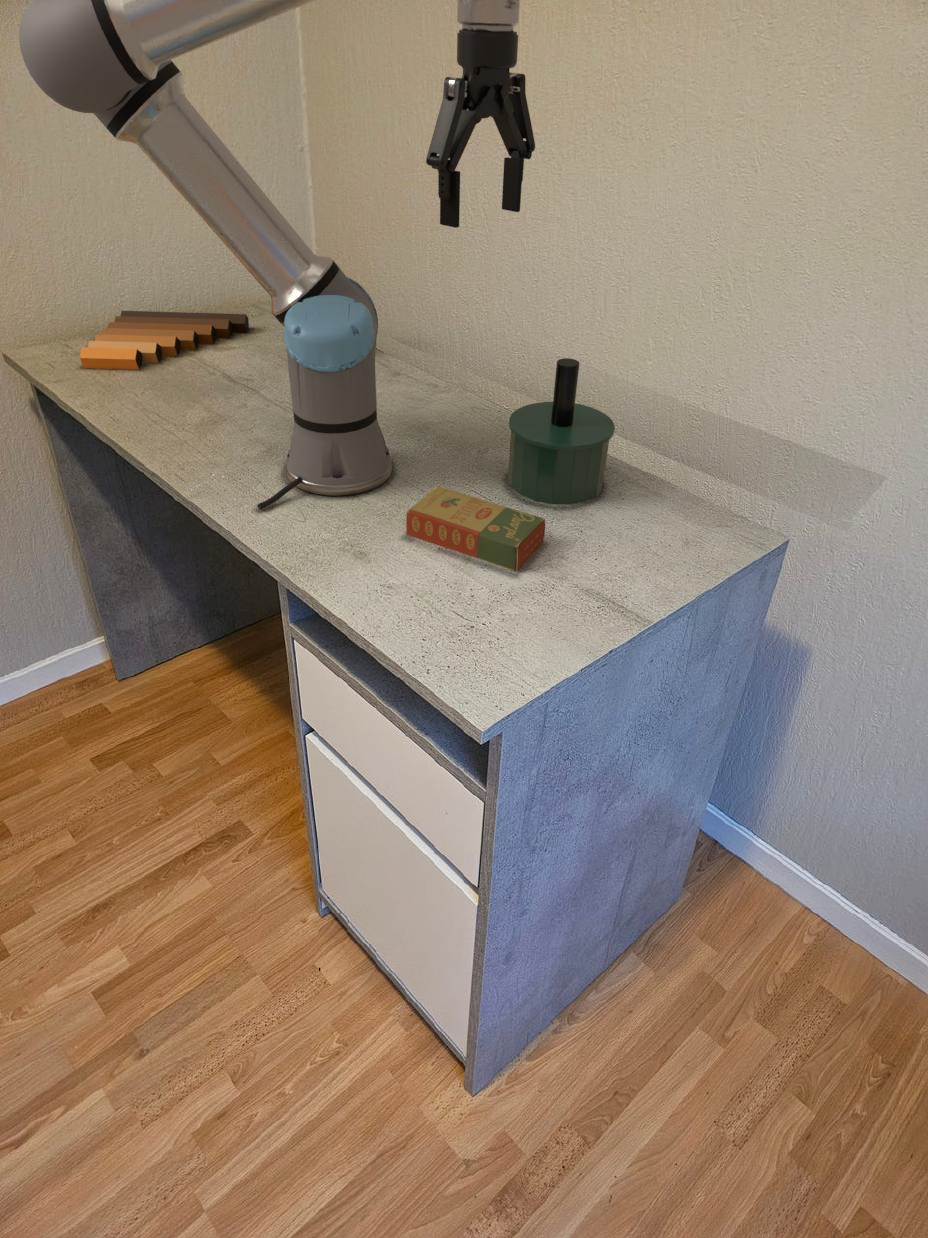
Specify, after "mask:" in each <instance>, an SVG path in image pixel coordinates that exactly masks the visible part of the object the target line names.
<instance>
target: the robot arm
mask: <svg viewBox="0 0 928 1238" xmlns="http://www.w3.org/2000/svg"><path fill="white" fill-rule="evenodd" d="M315 1H316V0H30V2H29V3H28V4H27V6H26V7H25V9H24V11H23V13H22V14H21V17H20V18H21V19H20V22H19V27H18V28H19V29H18V41H19V50H20V53H21V56H22V59H23V63H24V65H25V67H26V69H27V71H28V73H29V76H30V77H31V78H32V79H33V81H34V83H35V84H36V85H37V86H38V87H39V89H40V90H41V91H42V92H43V93H44V94H45V95H46V96H47V97H49V98H50V99H51V100H53V101H54V102H55V103H56V104H58V105H59V106H62V107H64V108H66V109H69V110H71V111H72V112H78V113H83V114H93V115H94V116H95V117H96V118H97V119H98V120H99V121H100V123H101V124H102V125H103V126H104V127H105V128H106V130H107V131H108V132H109V133H110V134H111V135H112V136H113V137H114V139H116V141H118V142H119V141H120V142H126V143H132V144H135V145H136V146H138V148H139V149H140V150H141V151H142V152H143V153H144V154H145V155H146V156H147V158H148V159H149V160H150V161H151V162H152V164H153V165H154V166H155V167H156V168H157V169H158V170H159V171H160V172H161V174H162V175H163V176H164V177H165V178H166V180H168V181H169V183H170V184H171V185H172V186H173V187H174V188H175V189H176V190H177V192H179V194H180V195H181V197H182V198H184V200H185V201H186V202H187V203H188V204H189V205H190V207H192V209H193V210H194V211H195V212H196V213H197V215H199V216H200V218H201V219H202V220H203V221H204V222H205V224H206V225H207V226H208V227H209V228H210V229H211V230H212V232H213V233H214V234H215V235H216V236H217V237H218V238H219V239H220V240H221V242H222V243H223V244H224V245H225V246H226V248H227V249H228V250H229V251H230V252H231V253H232V254H233V255H234V256H235V258H236V259H237V260H238V261H239V262H240V263H241V265H243V266H244V267H245V269H246V270H247V271H248V272H249V274H250V275H252V277H253V278H254V279H255V281H256V282H257V283H258V284H259V285H260V286H261V287H262V288H263V290H265V291H266V293H267V294H268V295H269V296H270V299H271V314H272V315H273V317H275V319H276V320H277V322H278V323H280V324H281V325H282V326H283V328H284V329H283V344H284V345H285V349H286V357H287V366H288V376H289V377H288V379H289V385H290V396H291V405H292V413H293V414H292V415H293V428H292V433H291V438H290V439H291V440H290V445H289V450H288V452H287V455H286V457H285V458H286V459H285V468H286V476H287V478H288V480H289V483H288V484H287V485H285V486H284V487H283V488H282V489H279V491H277V492H276V493H275V494H274V495H272V496H271V497H269V498H268V499H266V500H265V501H262V502H259V503H257V505H256V506H257V509H258V510H263V509H265V508H268V507H269V506H271V505H273V504H274V503H276V502H277V501H278V500H280V499H281V498H282V497H283V496H285V495H286V494H287V493H289V492H290V491H292V490H293V489H295V488H296V487H297V488H298V489H301V490H302V491H305V492H307V493H312V494H316V495H323V496H351V495H356V494H357V495H358V494H361V493H364V492H368V491H371V490H373V489H375V488H377V487H379V486H381V485H383V484H384V483H386V481H387V480H388V479H389V478H390V476H391V474H392V469H393V468H392V456H391V453H390V450H389V448H388V446H387V444H386V440H385V437H384V434H383V432H382V429H381V427H380V424H379V421H378V409H377V408H378V407H377V406H378V404H377V402H378V401H377V383H376V382H377V381H376V350H377V349H376V348H377V338H378V333H379V317H378V311H377V309H376V306H375V303H374V301H373V299H372V297H371V296H370V294H369V293H368V291H367V289H365V288H364V287H363V286H362V285H361V284H360V283H359V282H357V281H356V280H354V279H352V278H350V277H348V276H347V275H346V274H345V272H343V271H342V269H341V268H340V267H339V265H338V264H337V263H336V262H335V261H334V259H333V258H332V257H330V256H322V255H321V256H320V255H317V254H315V253H314V252H313V250H312V249H311V248H310V247H309V245H308V244H307V243H306V242H305V241H304V239H303V238H302V237H301V235H299V233H298V232H297V231H296V230H295V229H294V227H293V226H292V224H290V222H289V221H288V220H287V219H286V218H285V216H284V215H283V214H282V213H281V212H280V210H279V209H278V208H277V207H276V205H275V204H274V203H273V202H272V200H271V199H270V198H269V197H268V196H267V194H266V193H265V192H264V191H263V189H262V188H261V187H260V186H259V184H258V183H257V182H256V181H255V179H254V178H253V177H252V176H251V175H250V173H249V172H248V171H247V170H246V169H245V167H244V166H243V165H242V164H241V163H240V162H239V160H238V159H237V158H236V156H235V155H233V153H232V152H231V151H230V149H229V148H228V147H227V146H226V145H225V143H224V142H223V141H222V139H221V138H220V137H219V136H218V135H217V134H216V133H215V131H214V130H213V129H212V127H211V126H210V125H209V124H208V123H207V121H206V120H205V119H204V117H202V115H201V114H200V113H199V112H198V110H197V109H196V108H195V106H194V105H193V104H192V103H191V102H190V100H189V99H188V97H186V93H185V87H184V74H183V73H182V71H181V70H180V69H179V68H178V66H177V65H176V64H175V63H174V61H173V60H174V59H176V58H178V57H181V56H184V55H186V54H188V53H191V52H193V51H196V50H199V49H200V48H203V47H206V46H207V45H211V44H214V43H215V42H217V41H220V40H222V39H224V38H228V37H230V36H233V35H235V34H237V33H240V32H243V31H244V30H246V29H249V28H251V27H254V26H256V25H259V24H261V23H263V22H266V21H268V20H271V19H273V18H276V17H277V16H281V15H283V14H285V13H288V12H291V11H292V10H296V9H297V8H301V7H302V6H305V5H307V4H309V3H312V2H315ZM520 3H521V0H457V7H456V8H457V12H456V22H457V23H458V24H459V25H461V29H459V30H458V32H457V34H456V35H457V36H456V62H457V64H458V66H460V67H461V68H462V76H461V77H452V76H446V77H445V78H444V81H443V90H442V91H443V92H442V101H441V104H440V108H439V111H438V114H437V118H436V122H435V126H434V129H433V133H432V137H431V141H430V144H429V147H428V151H427V155H426V158H425V161H426V162H425V163H426V165H428V166H430V167H431V168H432V169H433V170H437V174H438V177H437V178H438V180H437V182H438V185H437V187H438V192H437V194H438V198H439V225H442V226H445V227H449V228H450V227H451V228H454V229H456V228H460V208H461V207H460V204H461V203H460V202H461V171H460V170H459V171H458V170H457V167H458V164H459V163H460V161H461V158H462V156H463V154H464V151H465V149H466V147H467V145H468V143H469V141H470V139H471V136H472V134H473V132H474V129H475V127H476V126H477V125H478V124H479V123H480V122H481V121H482V119H488V118H492V119H493V122H494V123H495V126H496V128H497V131H498V133H499V136H500V138H501V140H502V143H503V144H504V148H505V149H506V152H507V155H508V156H509V157H508V156H507V157H504V158H503V174H502V176H503V177H502V195H501V210H504V211H509V212H513V213H520V212H521V200H522V184H523V180H524V167H525V160H530V159H531V158H532V155H533V152H534V151H535V150H536V142H535V141H536V140H535V135H534V130H533V125H532V120H531V115H530V110H529V104H528V99H527V95H526V75H525V73H518V72H510V69H513V68H515V67H516V66H517V64H518V52H519V51H518V49H519V34H518V31H514V29H515V28H514V27H515V26H518V25H519V23H520V5H521V4H520ZM524 139H525V140H524Z"/></svg>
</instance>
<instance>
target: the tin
mask: <svg viewBox="0 0 928 1238" xmlns="http://www.w3.org/2000/svg"><path fill="white" fill-rule="evenodd" d="M609 444H610V440H609V441H607V442H606V443H604V444H602V445H599V446H597V447H593V448H588V449H581V450H557V449H550V448H544V447H540V446H536V445H533V444H530V443H528V442H526V441H524V440H522V439H520V438H518V437H517V436H516V435H515V434H513V432H512V431H511V430H510V438H509V453H508V454H509V456H508V471H507V482H508V483H509V486H510V488H511V489H512V490H513V491H515V492H516V493H517V494H519V496H522V497H524V498H527V499H528V500H531V501H533V502H537V503H543V504H548V505H574V504H580V503H584V502H587V501H590V500H592V499H594V498H595V497H597V496H598V495H599V493H600V492H601V491H603V485H604V479H605V473H606V472H605V471H606V467H607V466H606V464H607V459H608V451H609V446H610V445H609Z"/></svg>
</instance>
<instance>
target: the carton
mask: <svg viewBox="0 0 928 1238" xmlns="http://www.w3.org/2000/svg"><path fill="white" fill-rule="evenodd" d="M405 517H406V518H405V519H406V523H405V525H406V527H405V528H406V534H407V536H409V537H412V538H414V539H418V540H421V541H424V542H427V543H430V544H433V545H436V546H438V547H441V548H445V549H447V550H451V551H452V552H453V551H454V552H456V553H460V554H462V555H466V556H469V557H471V558H473V559H474V558H475V559H478V560H480V561H483V562H486V563H488V564H492V565H495V566H498V567H500V568H504V569H507V570H509V571H512V572H515V571H516V572H518V571H519V570H520V569H521V568H522V567H523V565H524V564H525V563H526V562H527V561H528V559H530V557H531V556H532V555H533V554H534V553H535V552H536V551H537V550H538V549H539V547H540V546H541V545H542V544H543V543H544V540H545V539H544V538H545V532H546V519H545V518H544V517H540V516H537V515H534V514H531V513H527V512H524V511H521V510H517V509H514V508H511V507H508V506H504V505H501V504H499V503H495V502H491V501H488V500H485V499H483V498H479V497H475V496H472V495H469V494H465V493H462V492H459V491H456V490H452V489H450V488H446V487H443V486H439V485H438V486H437V487H435V488H434V489H433V490H431V491H430V492H429V493H427V494H426V495H425V496H424V497H423V498H421V499H420V500H419V501H418V502H416V503H415V504H414V505H413V506H411V507H410V508H409V509H408V510H407V511H406V516H405Z"/></svg>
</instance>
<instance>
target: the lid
mask: <svg viewBox="0 0 928 1238" xmlns="http://www.w3.org/2000/svg"><path fill="white" fill-rule="evenodd" d="M579 370H580V361H578V360H577V359H575V358H565V357H564V358H560V359H557V361H556V367H555V376H554V387H553V396H552V397H553V398H552V401H542V402H534V403H530V404H527V405H524V406H521V407H519V408H517V409H516V410H514V411H513V412H512V413H511V414H510V416H509V419H508V420H509V421H508V428H509V430H510V432H511V431H512V432H513V434H515V435H516V436H517V437H518V438H520V439H522V440H524V441H526V442H528V443H530V444H533V445H536V446H540V447H544V448H550V449H557V450H581V449H588V448H593V447H597V446H599V445H602V444H604V443H606V442H607V441H609V442H610V440H611V439H612V438H613V436H614V435H615V430H616V427H615V425H616V424H615V423H614V421H613V420H612V418H610V416H609V415H608V414H606V413H604V412H603V411H601V410H598V409H596V408H595V407H591V406H588V405H585V404H581V403H576V399H577V390H578V381H579V372H580V371H579Z"/></svg>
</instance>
